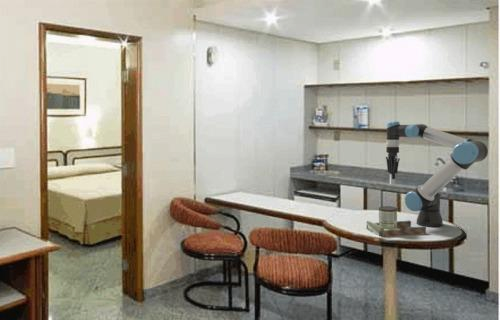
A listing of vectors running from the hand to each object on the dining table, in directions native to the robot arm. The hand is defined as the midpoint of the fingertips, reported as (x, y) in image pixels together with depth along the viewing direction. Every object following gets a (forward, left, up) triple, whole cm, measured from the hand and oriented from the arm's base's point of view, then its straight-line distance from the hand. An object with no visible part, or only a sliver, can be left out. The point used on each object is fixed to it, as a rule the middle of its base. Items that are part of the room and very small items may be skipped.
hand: (392, 184), depth 289 cm
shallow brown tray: (+9, +21, -24) cm, 33 cm away
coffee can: (+14, +21, -25) cm, 35 cm away
